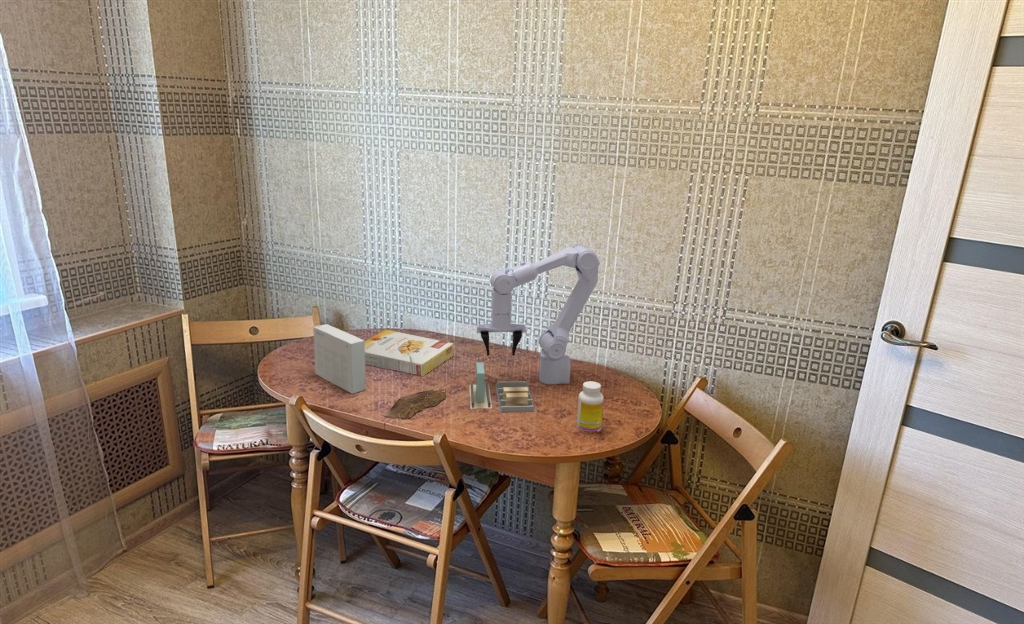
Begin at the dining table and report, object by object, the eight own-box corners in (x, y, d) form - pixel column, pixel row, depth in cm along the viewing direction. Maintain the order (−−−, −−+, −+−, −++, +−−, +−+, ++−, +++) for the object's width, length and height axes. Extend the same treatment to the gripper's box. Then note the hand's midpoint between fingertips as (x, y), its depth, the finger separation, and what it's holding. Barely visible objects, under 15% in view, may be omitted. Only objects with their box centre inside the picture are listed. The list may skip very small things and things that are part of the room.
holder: (488, 387, 190) (488, 379, 189) (491, 411, 175) (492, 403, 174) (469, 387, 190) (469, 380, 189) (470, 411, 175) (470, 403, 174)
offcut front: (526, 405, 177) (527, 392, 176) (527, 409, 174) (528, 396, 173) (505, 406, 176) (506, 393, 175) (506, 410, 174) (506, 397, 173)
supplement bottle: (604, 433, 165) (608, 389, 161) (581, 435, 163) (584, 391, 159) (596, 421, 171) (599, 378, 167) (573, 423, 169) (576, 380, 166)
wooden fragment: (399, 424, 167) (398, 421, 167) (372, 412, 173) (372, 409, 173) (463, 393, 186) (463, 390, 186) (437, 383, 193) (437, 380, 192)
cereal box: (385, 328, 223) (454, 341, 213) (385, 342, 225) (454, 355, 214) (350, 348, 205) (423, 362, 195) (351, 363, 207) (424, 378, 197)
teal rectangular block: (484, 402, 178) (484, 373, 175) (477, 402, 178) (477, 373, 175) (482, 390, 186) (483, 362, 183) (476, 390, 186) (476, 362, 183)
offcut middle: (526, 399, 181) (527, 386, 179) (527, 403, 178) (528, 390, 177) (502, 399, 180) (503, 387, 179) (503, 403, 178) (503, 391, 176)
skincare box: (367, 389, 187) (365, 340, 182) (352, 395, 183) (349, 344, 178) (330, 369, 200) (326, 322, 196) (314, 374, 197) (311, 326, 192)
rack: (527, 386, 192) (527, 378, 191) (535, 414, 174) (535, 406, 173) (495, 386, 191) (495, 379, 190) (499, 415, 173) (499, 407, 172)
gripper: (524, 307, 189) (523, 349, 193) (476, 307, 187) (476, 349, 191) (527, 314, 182) (525, 357, 186) (477, 315, 181) (477, 358, 185)
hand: (500, 354), depth 188 cm, fingers open, 7 cm apart
